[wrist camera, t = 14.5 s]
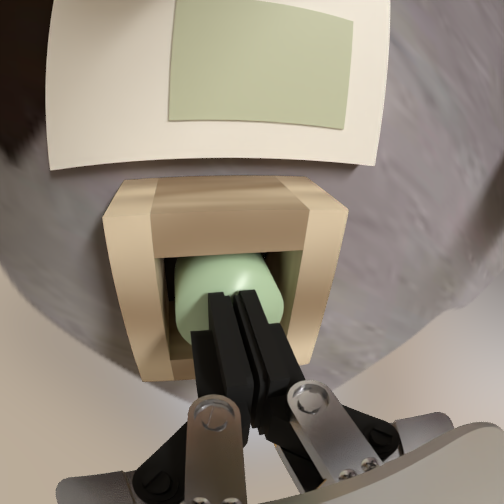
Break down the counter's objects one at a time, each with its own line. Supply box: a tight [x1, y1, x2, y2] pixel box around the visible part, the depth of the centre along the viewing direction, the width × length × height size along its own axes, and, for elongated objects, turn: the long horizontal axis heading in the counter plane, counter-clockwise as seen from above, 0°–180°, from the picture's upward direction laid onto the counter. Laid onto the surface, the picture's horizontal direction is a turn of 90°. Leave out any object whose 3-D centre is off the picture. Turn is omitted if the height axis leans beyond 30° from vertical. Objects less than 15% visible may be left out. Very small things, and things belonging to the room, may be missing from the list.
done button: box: [175, 252, 284, 345], centre depth 12 cm, size 4×4×3 cm
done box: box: [102, 175, 349, 382], centre depth 13 cm, size 8×8×4 cm
